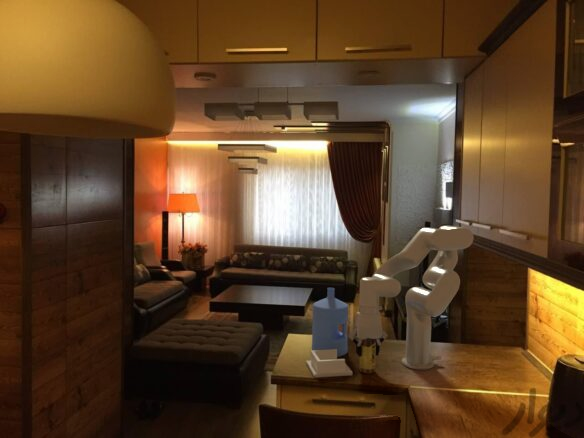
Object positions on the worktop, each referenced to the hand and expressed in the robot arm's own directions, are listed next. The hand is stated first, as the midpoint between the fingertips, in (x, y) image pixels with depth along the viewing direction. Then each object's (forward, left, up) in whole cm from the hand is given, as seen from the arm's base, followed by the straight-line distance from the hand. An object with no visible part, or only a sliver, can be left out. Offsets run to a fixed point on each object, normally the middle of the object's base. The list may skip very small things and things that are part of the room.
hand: (367, 354), depth 178 cm
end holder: (+14, -4, -7) cm, 16 cm away
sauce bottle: (0, 0, -7) cm, 7 cm away
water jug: (+9, -23, -7) cm, 26 cm away
